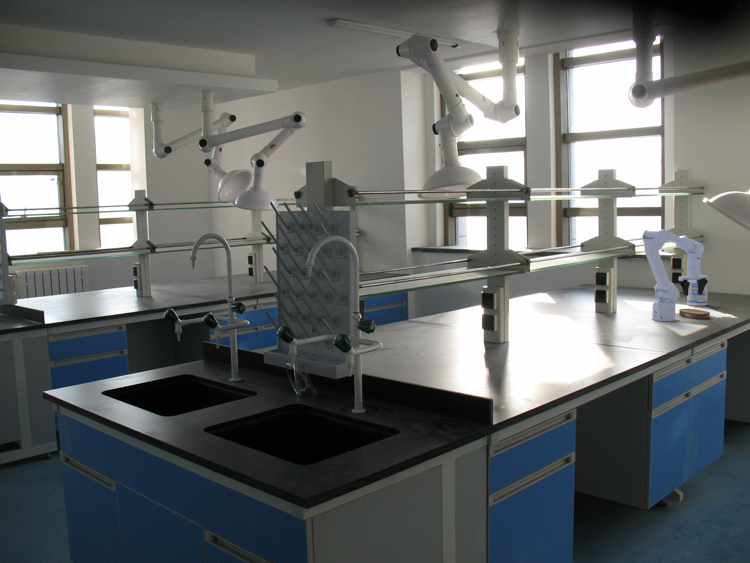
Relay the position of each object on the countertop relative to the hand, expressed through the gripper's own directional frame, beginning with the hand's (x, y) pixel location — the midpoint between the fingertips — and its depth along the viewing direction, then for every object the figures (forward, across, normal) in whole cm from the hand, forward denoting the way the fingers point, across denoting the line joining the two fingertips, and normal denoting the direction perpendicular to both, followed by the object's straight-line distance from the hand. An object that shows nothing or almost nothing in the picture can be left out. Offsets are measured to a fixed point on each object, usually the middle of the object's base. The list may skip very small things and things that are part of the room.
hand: (693, 295), depth 320 cm
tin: (+9, +5, 0) cm, 10 cm away
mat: (+10, +11, 0) cm, 15 cm away
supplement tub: (+10, +23, +27) cm, 37 cm away
